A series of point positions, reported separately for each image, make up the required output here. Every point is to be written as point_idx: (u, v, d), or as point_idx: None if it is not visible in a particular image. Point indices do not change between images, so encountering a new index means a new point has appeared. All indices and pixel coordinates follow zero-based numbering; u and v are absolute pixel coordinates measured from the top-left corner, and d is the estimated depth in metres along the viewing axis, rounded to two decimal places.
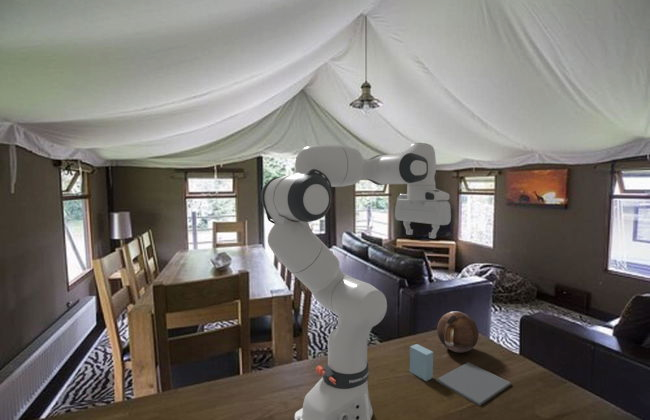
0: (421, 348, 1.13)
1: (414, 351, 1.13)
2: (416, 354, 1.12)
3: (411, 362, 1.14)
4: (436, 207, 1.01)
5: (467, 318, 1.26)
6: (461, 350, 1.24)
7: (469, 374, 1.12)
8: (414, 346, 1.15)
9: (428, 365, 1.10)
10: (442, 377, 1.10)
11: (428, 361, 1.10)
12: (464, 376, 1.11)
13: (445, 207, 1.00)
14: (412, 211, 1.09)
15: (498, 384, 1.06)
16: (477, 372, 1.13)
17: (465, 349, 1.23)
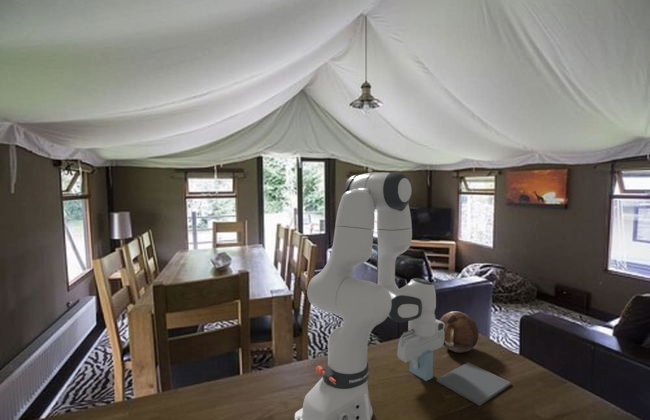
0: None
1: None
2: None
3: (411, 362, 1.14)
4: (440, 333, 1.15)
5: (467, 318, 1.26)
6: (461, 350, 1.24)
7: (469, 374, 1.12)
8: None
9: (428, 365, 1.10)
10: (442, 377, 1.10)
11: (428, 361, 1.10)
12: (464, 376, 1.11)
13: None
14: (421, 346, 1.10)
15: (498, 384, 1.06)
16: (477, 372, 1.13)
17: (465, 349, 1.23)
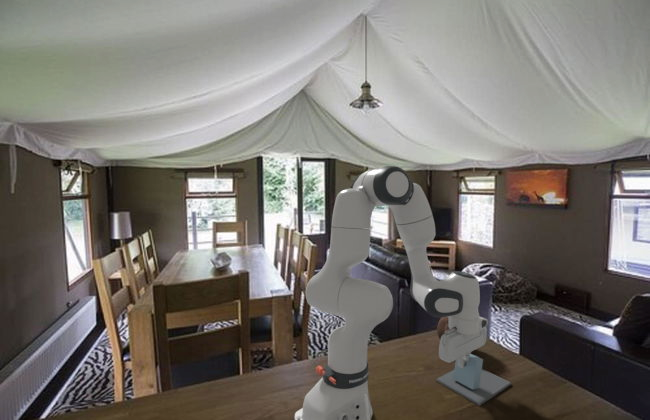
0: None
1: None
2: None
3: (456, 368, 1.07)
4: (482, 331, 1.06)
5: None
6: None
7: None
8: None
9: (477, 373, 1.03)
10: (442, 377, 1.10)
11: (478, 368, 1.03)
12: None
13: None
14: (464, 345, 1.01)
15: (498, 384, 1.06)
16: None
17: None
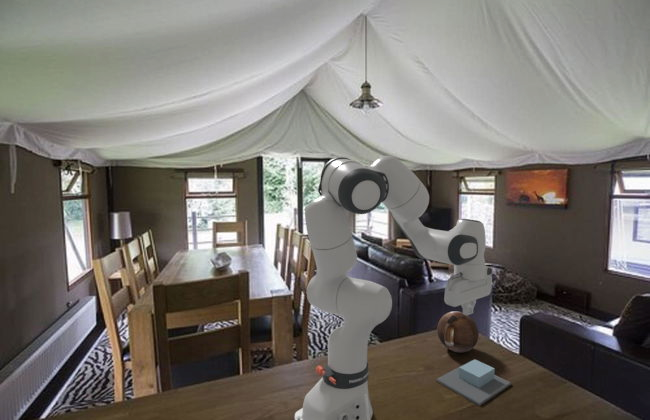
0: None
1: (477, 362, 1.13)
2: (480, 364, 1.11)
3: (467, 365, 1.11)
4: (488, 280, 1.06)
5: (467, 318, 1.26)
6: (461, 350, 1.24)
7: None
8: None
9: (487, 375, 1.07)
10: (442, 377, 1.10)
11: (490, 374, 1.08)
12: None
13: None
14: (470, 291, 1.01)
15: (498, 384, 1.06)
16: None
17: (465, 349, 1.23)
